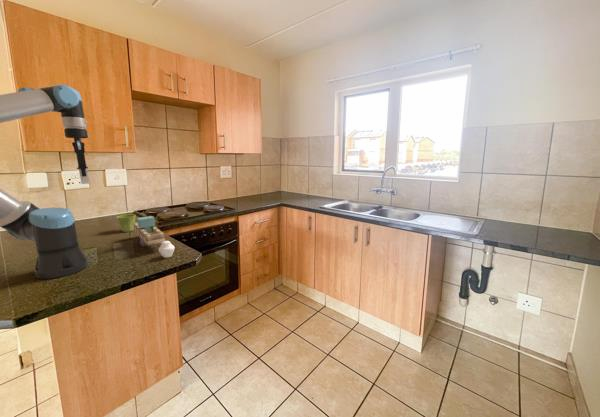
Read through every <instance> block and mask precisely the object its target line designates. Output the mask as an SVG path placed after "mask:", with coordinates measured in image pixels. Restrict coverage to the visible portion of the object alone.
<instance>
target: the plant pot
mask: <svg viewBox="0 0 600 417" xmlns="http://www.w3.org/2000/svg"><path fill="white" fill-rule="evenodd" d="M136 217H137V215H136V214H132V213H131V214H128V213H127V214H123V215H118V216H116V219H117V221H118V224H119V226H120V229H121V231H122V233H128V232H132V231H134V224H133V223H135V222H136Z"/></svg>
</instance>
